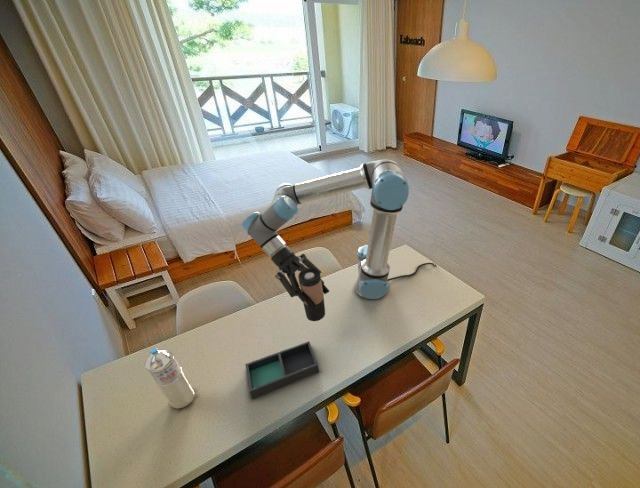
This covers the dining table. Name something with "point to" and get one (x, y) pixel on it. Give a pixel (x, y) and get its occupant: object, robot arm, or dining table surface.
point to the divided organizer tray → (281, 369)
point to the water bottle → (170, 378)
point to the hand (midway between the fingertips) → (320, 299)
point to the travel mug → (312, 293)
